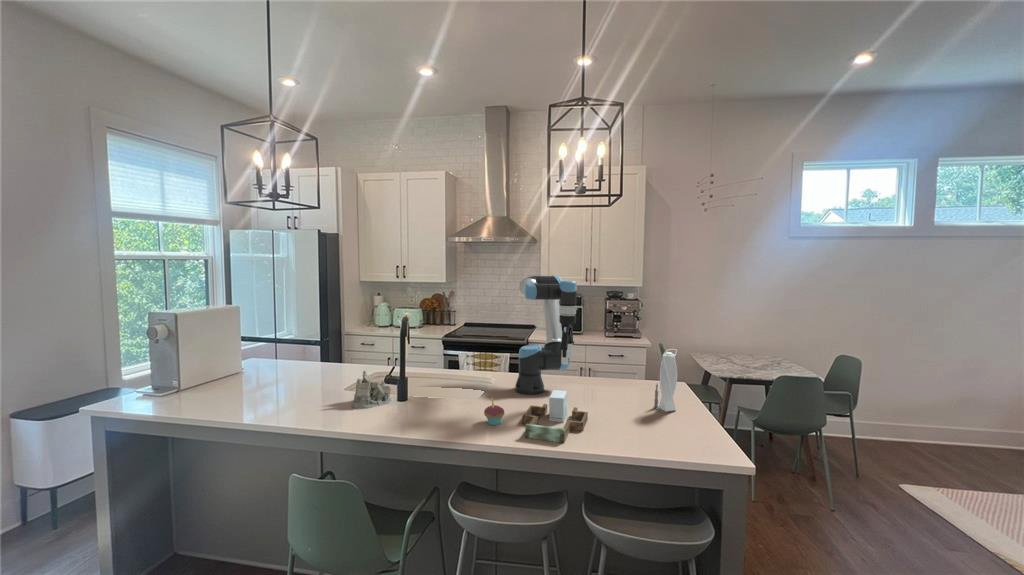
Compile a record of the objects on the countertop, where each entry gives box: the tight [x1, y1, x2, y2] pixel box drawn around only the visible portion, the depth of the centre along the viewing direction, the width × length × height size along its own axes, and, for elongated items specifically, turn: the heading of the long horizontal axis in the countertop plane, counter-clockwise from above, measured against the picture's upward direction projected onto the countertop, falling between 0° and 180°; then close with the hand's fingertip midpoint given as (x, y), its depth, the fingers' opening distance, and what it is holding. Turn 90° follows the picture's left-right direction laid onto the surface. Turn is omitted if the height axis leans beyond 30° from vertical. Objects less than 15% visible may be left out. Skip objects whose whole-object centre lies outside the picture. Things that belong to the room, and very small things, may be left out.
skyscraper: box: [653, 348, 678, 413], centre depth 196 cm, size 8×8×28 cm
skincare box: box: [548, 389, 568, 423], centre depth 186 cm, size 10×6×10 cm, turn 164°
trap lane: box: [522, 403, 589, 444], centre depth 177 cm, size 25×30×5 cm
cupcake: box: [483, 396, 505, 426], centre depth 179 cm, size 9×8×12 cm
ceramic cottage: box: [351, 370, 392, 410], centre depth 202 cm, size 16×16×15 cm
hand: (566, 360), depth 197 cm, fingers open, 13 cm apart
